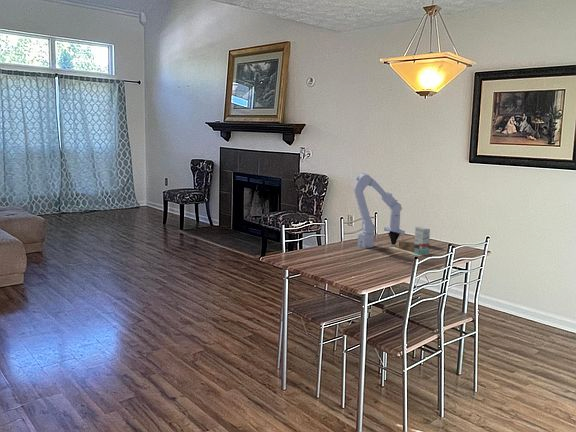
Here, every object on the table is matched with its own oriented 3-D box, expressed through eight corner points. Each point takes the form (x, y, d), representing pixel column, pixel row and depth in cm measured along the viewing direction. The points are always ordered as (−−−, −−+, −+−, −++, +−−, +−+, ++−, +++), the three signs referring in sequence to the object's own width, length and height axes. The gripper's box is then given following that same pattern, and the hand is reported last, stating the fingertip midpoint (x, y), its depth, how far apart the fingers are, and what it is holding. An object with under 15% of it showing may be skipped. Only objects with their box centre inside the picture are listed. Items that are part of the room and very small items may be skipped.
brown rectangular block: (398, 248, 296) (399, 241, 295) (403, 247, 298) (403, 240, 297) (414, 252, 286) (415, 245, 285) (419, 251, 288) (419, 244, 288)
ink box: (429, 248, 303) (430, 228, 301) (422, 248, 301) (423, 229, 299) (420, 244, 311) (421, 226, 309) (413, 245, 309) (415, 226, 307)
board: (418, 257, 278) (418, 256, 278) (387, 249, 297) (387, 247, 297) (433, 254, 286) (433, 253, 286) (402, 246, 304) (402, 245, 304)
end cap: (420, 255, 281) (420, 249, 280) (413, 253, 284) (414, 248, 284) (429, 253, 285) (429, 248, 285) (423, 251, 289) (423, 246, 288)
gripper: (408, 223, 295) (407, 245, 298) (390, 219, 307) (389, 241, 309) (400, 224, 291) (399, 247, 294) (382, 220, 303) (381, 242, 305)
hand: (393, 244), depth 301 cm, fingers closed
